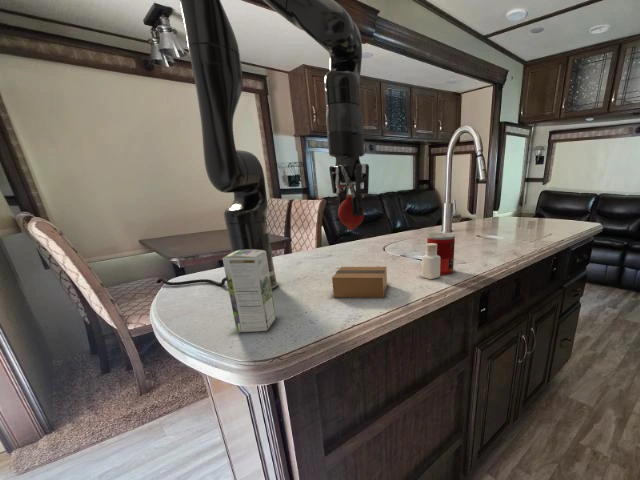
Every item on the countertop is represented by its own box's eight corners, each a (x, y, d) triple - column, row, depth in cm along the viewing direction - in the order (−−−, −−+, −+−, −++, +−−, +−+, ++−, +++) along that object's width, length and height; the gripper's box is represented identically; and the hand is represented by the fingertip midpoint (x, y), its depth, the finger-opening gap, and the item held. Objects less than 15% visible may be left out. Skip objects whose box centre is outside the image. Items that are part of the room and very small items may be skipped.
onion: (366, 228, 76) (365, 193, 73) (361, 232, 70) (359, 194, 67) (343, 228, 76) (340, 193, 73) (336, 232, 71) (333, 194, 68)
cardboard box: (333, 297, 76) (331, 277, 74) (342, 284, 85) (341, 266, 84) (383, 297, 75) (382, 277, 74) (387, 284, 85) (386, 266, 83)
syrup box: (247, 320, 64) (233, 249, 59) (277, 319, 65) (266, 248, 59) (236, 333, 59) (219, 256, 54) (269, 331, 59) (255, 255, 54)
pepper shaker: (420, 277, 91) (421, 244, 87) (430, 274, 93) (431, 242, 90) (430, 280, 88) (431, 246, 85) (440, 277, 90) (441, 244, 87)
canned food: (454, 274, 92) (456, 237, 88) (427, 275, 93) (428, 237, 89) (451, 268, 100) (452, 232, 96) (426, 268, 100) (426, 233, 96)
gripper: (314, 134, 69) (322, 213, 75) (345, 125, 58) (351, 218, 64) (345, 136, 73) (350, 211, 79) (379, 128, 63) (382, 215, 69)
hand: (351, 214), depth 72 cm, fingers closed on onion, 6 cm apart
